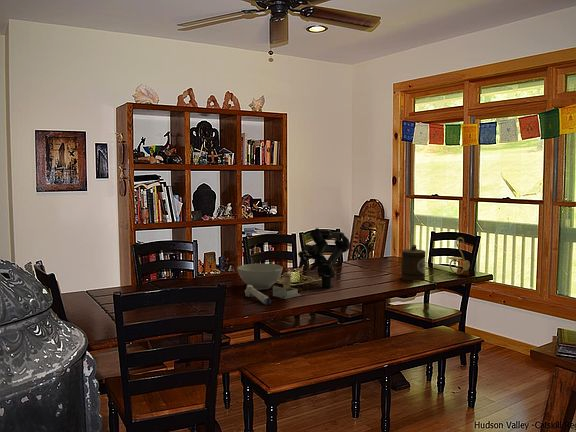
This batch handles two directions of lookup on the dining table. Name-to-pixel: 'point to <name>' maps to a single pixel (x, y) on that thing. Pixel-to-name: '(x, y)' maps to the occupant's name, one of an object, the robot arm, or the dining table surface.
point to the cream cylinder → (287, 281)
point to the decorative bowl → (260, 275)
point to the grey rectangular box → (285, 292)
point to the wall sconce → (465, 263)
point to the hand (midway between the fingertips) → (304, 269)
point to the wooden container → (413, 264)
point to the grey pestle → (257, 295)
